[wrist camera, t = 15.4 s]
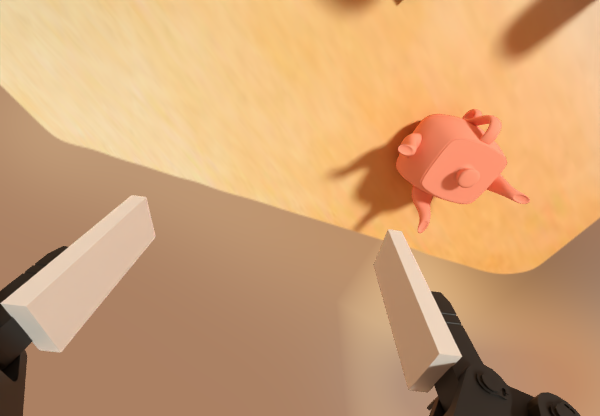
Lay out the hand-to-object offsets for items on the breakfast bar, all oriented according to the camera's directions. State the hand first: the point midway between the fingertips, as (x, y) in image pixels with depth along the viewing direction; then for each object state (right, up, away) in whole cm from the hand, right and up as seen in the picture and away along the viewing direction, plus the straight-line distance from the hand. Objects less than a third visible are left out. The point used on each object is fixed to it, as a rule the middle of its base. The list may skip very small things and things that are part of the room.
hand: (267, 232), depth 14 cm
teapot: (+23, +10, +27) cm, 37 cm away
